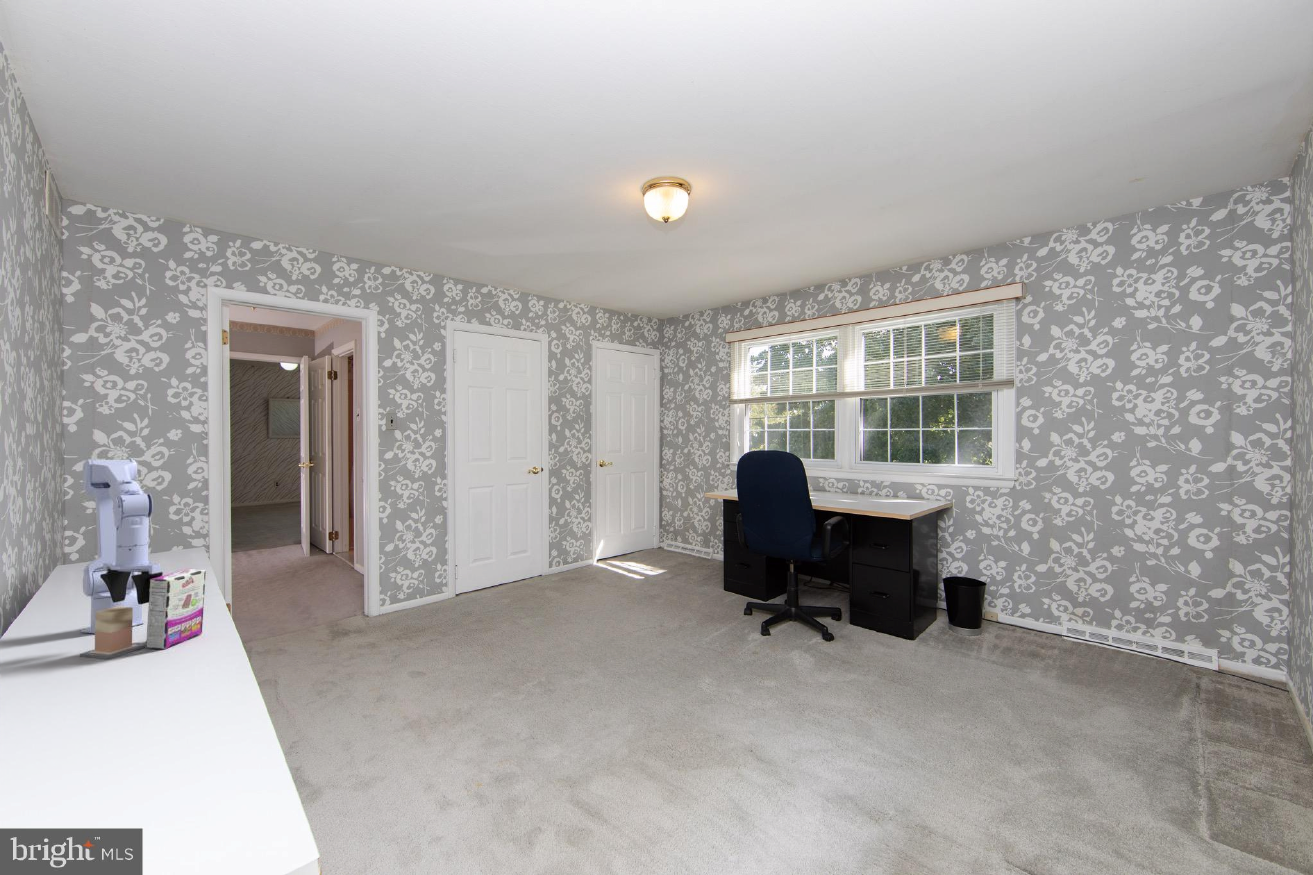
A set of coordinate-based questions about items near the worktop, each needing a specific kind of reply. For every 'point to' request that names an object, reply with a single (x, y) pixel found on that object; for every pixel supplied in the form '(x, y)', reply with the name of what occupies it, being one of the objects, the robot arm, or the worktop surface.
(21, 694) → the worktop surface
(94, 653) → the build plate
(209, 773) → the worktop surface
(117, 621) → the maple cube
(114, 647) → the terracotta cube
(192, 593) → the candy bar box
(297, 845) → the worktop surface
